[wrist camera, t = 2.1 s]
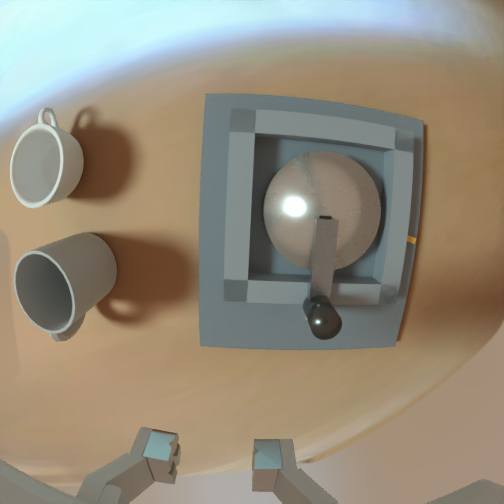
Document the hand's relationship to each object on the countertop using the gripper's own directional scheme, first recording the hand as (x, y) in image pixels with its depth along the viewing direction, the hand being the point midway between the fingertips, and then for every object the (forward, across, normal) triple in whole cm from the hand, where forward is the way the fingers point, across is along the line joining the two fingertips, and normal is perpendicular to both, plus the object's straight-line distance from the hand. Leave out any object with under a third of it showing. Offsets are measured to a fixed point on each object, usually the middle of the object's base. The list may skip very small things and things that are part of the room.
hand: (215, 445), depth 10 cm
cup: (+19, +16, 0) cm, 25 cm away
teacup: (+19, +19, -13) cm, 30 cm away
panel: (+19, -7, -6) cm, 21 cm away
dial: (+18, -7, -6) cm, 20 cm away
